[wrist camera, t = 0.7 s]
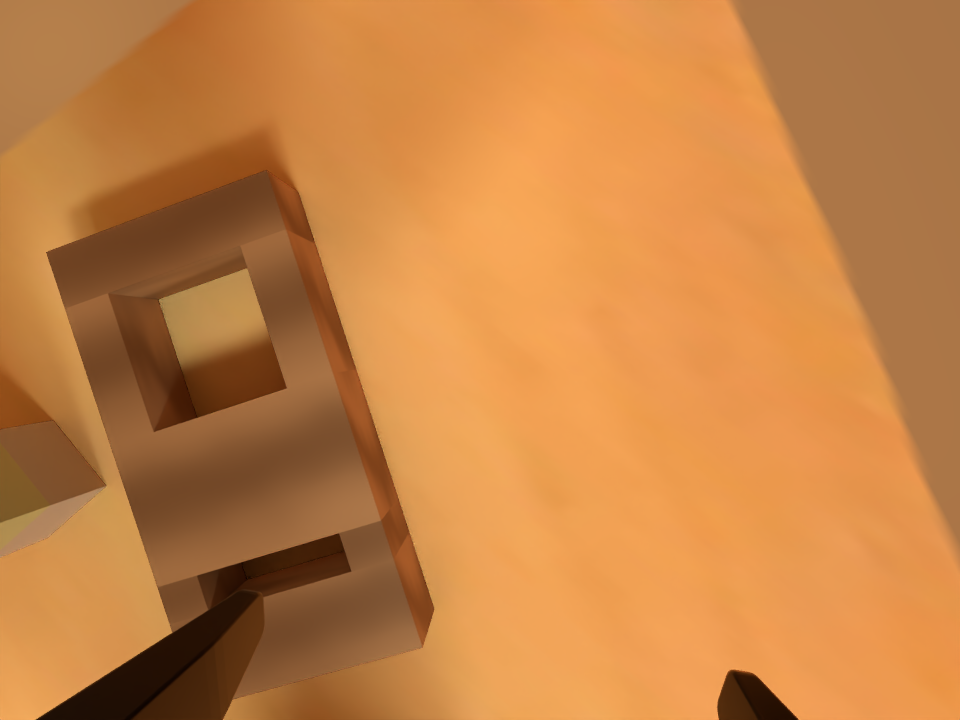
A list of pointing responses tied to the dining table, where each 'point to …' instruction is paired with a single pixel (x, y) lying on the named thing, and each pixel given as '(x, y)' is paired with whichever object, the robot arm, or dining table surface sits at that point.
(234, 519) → the socket board
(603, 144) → the dining table surface
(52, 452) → the square bit
